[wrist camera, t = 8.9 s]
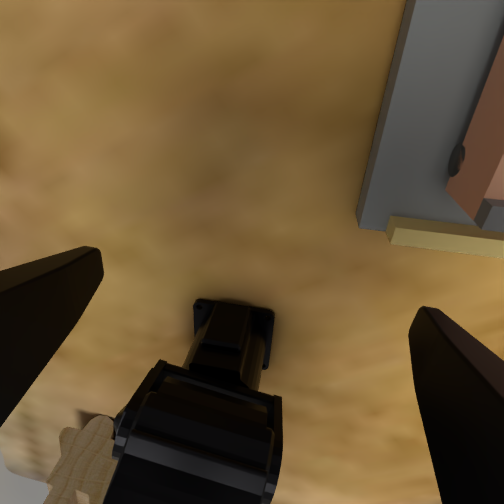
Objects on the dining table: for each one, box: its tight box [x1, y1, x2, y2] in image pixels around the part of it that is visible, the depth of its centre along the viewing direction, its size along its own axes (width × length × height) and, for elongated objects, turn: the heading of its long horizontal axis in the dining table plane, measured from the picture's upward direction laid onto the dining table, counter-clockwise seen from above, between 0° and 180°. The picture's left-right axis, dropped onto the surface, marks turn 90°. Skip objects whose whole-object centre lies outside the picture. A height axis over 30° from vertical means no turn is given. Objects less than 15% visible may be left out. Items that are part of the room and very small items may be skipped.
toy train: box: [43, 415, 118, 504], centre depth 36 cm, size 6×17×10 cm, turn 78°
